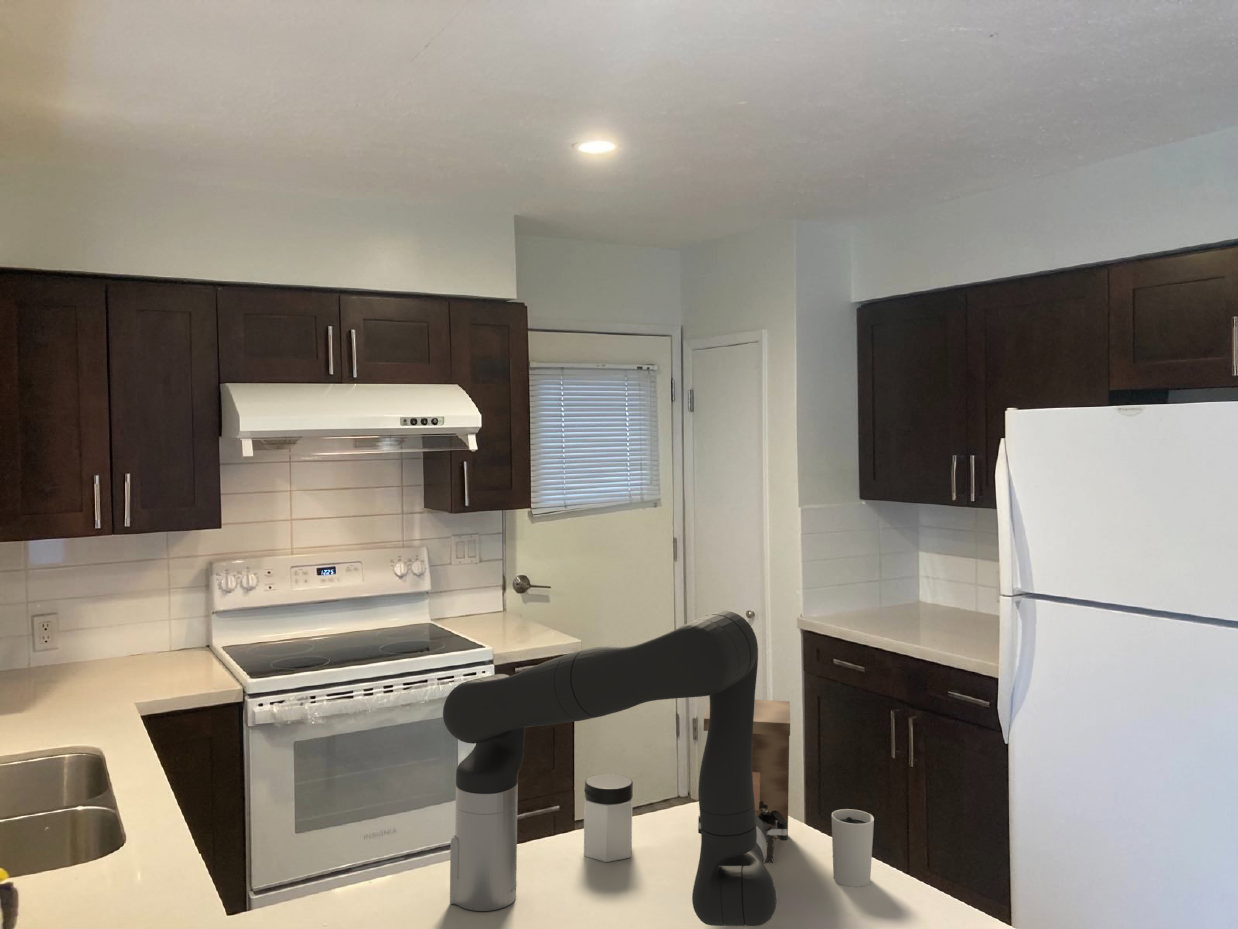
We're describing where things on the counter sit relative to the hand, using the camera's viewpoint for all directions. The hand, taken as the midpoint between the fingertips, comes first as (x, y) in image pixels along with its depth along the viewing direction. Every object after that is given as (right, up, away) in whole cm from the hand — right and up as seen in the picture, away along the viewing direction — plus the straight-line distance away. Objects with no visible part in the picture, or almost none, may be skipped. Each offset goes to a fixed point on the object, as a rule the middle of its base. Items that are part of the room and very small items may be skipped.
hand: (745, 806), depth 158 cm
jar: (-22, -11, +8) cm, 26 cm away
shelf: (+1, -11, +9) cm, 14 cm away
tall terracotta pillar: (-1, -6, -3) cm, 7 cm away
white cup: (+17, -11, -1) cm, 20 cm away
